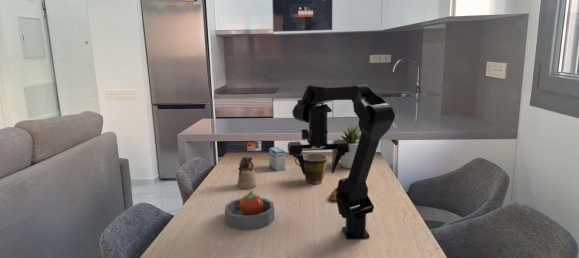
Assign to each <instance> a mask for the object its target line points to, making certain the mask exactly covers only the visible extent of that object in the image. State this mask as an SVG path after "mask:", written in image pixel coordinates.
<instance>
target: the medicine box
mask: <svg viewBox="0 0 579 258" xmlns="http://www.w3.org/2000/svg"><path fill="white" fill-rule="evenodd" d="M268 149H269V150H268V153H269V155H268V156H269V159H268V160H269V167H270V168H271V169H273V170H274V171H275V172H282V171H283V172H284V171H286V151H285V150H284V149H282V148H280V147H278V146H275V147H274V146H273V147H269V148H268Z"/></svg>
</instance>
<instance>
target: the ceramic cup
mask: <svg viewBox="0 0 579 258" xmlns="http://www.w3.org/2000/svg"><path fill="white" fill-rule="evenodd" d="M303 159H304V168H305V175H304V177H305V178H304V179H305V182H306V183H308V184H310V185H319V184H323V182H324V179H325V173H326V169H327V168H326V167H327V164H328V163H327V162H328V156H327V155H325V154H322V153H307V154H303ZM297 160H298V159H297V158H295V159H294V163H295V164H296V165H297V166H298V167H299V168H301V166H300V163H299V162H297Z"/></svg>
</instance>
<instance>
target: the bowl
mask: <svg viewBox="0 0 579 258" xmlns="http://www.w3.org/2000/svg"><path fill="white" fill-rule="evenodd" d="M242 198H243V197H242ZM242 198H237V199H234V200H231V201H230V202H228V203H227V204H225V208H224V220H225V224H226V225H228V226H229V227H230V228H232V229H237V230H241V231H248V230H258V229H262V228H264V227H268V226H269V225H271V223H272V222H274V221H275V205H274V202H272V201H271V200H270V199H268V198H263V197H261V198H262V200H263V208H262V211H261V212H260V214H258V215H249V216H245V215H244V214H243V213H242V211H241V209H240V200H241V199H242Z"/></svg>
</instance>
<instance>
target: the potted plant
mask: <svg viewBox="0 0 579 258" xmlns="http://www.w3.org/2000/svg"><path fill="white" fill-rule="evenodd" d="M357 124H358V123H356V124H355V126H351V127H350V126H349V125H347V124H346V125H345V126H346V127H347V132H346V131H345V130H344V129H343V128H341V130H342V132H343V134H344V135H345V136H343V135H340V137H341V138H335V139H334V140H345V141H346V142H347V143H348V144H349V147H350V150H349V152H348V153H345V155H343V156H342V157H341V159H340V160H339V161H340V164H341V167H343V168H345V169H348V170H351V166H352V163H353V160H354V156H355V153H356V150H357V147H358V143H359V140H360V137H361V131H360V128H359V126H358V125H357ZM358 128H359V130H358ZM357 130H358V131H357Z"/></svg>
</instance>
